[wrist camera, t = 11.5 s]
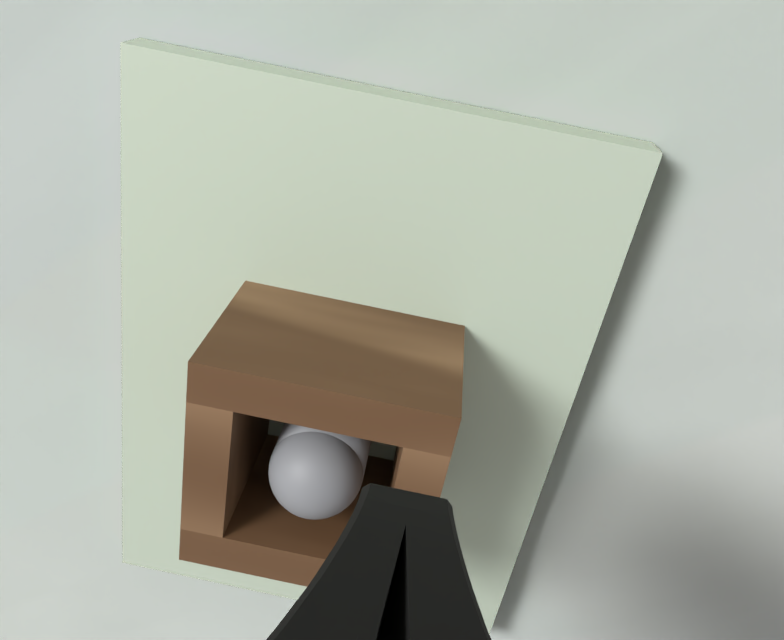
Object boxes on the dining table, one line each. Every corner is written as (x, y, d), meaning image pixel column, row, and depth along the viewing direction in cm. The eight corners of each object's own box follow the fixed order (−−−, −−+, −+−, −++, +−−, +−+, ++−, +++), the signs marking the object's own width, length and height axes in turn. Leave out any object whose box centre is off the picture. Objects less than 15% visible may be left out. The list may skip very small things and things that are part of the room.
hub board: (486, 615, 24) (488, 770, 19) (135, 539, 24) (55, 676, 19) (652, 142, 16) (720, 215, 12) (139, 37, 16) (11, 69, 12)
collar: (421, 494, 20) (409, 608, 17) (230, 454, 20) (178, 559, 17) (465, 325, 18) (461, 418, 14) (245, 280, 18) (188, 361, 14)
